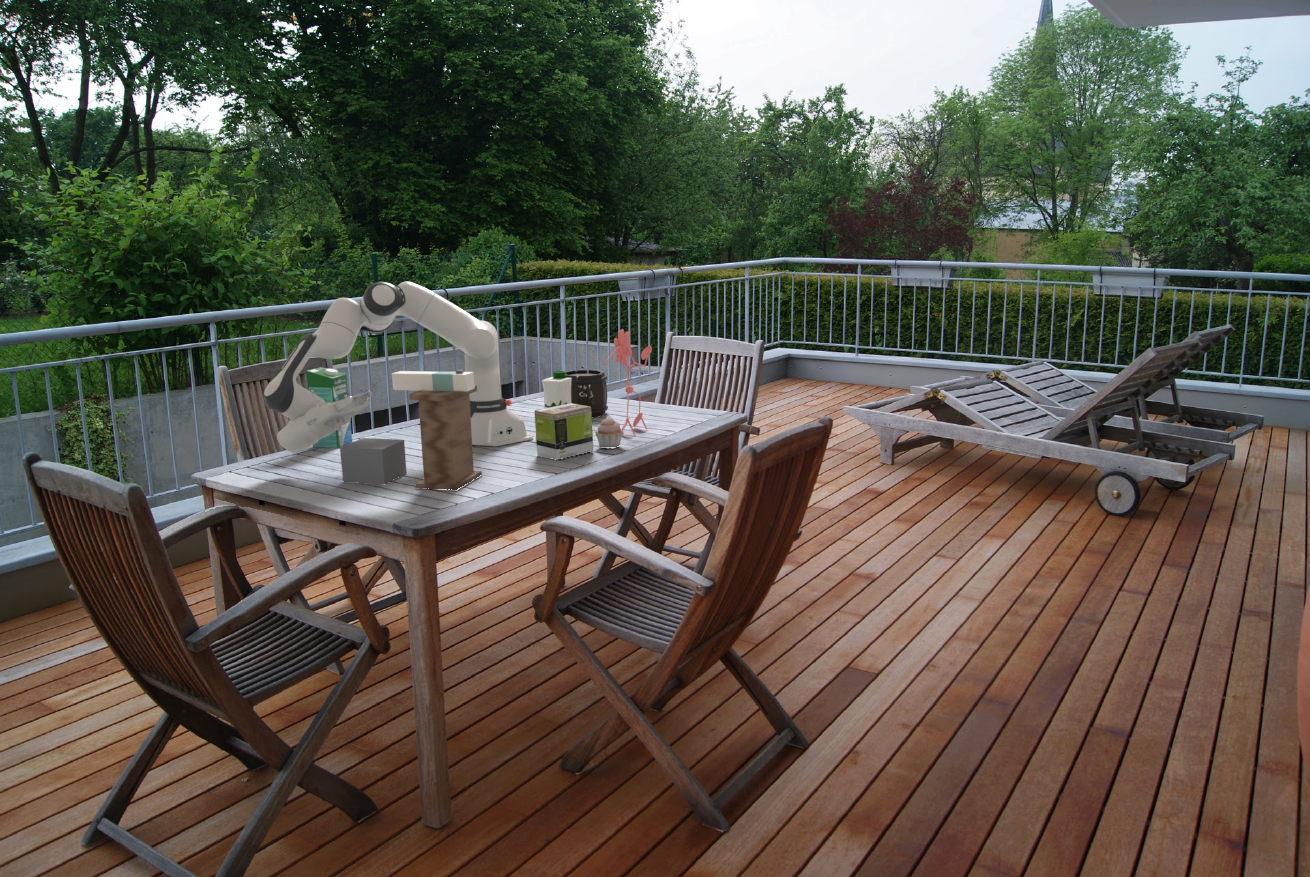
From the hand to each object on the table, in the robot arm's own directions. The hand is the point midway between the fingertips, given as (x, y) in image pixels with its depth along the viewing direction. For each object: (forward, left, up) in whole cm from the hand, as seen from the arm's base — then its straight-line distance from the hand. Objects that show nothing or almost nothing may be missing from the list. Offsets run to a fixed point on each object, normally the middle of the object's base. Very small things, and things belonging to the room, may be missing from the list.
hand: (361, 395), depth 263 cm
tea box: (-59, +6, -24) cm, 64 cm away
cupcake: (-75, +5, -24) cm, 79 cm away
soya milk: (-72, -27, -24) cm, 80 cm away
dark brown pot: (-92, -48, -24) cm, 106 cm away
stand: (-18, +18, -23) cm, 35 cm away
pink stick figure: (-90, -13, -24) cm, 94 cm away
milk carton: (-1, -49, -24) cm, 55 cm away
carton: (-16, +16, +3) cm, 23 cm away
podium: (-2, +2, -23) cm, 24 cm away
